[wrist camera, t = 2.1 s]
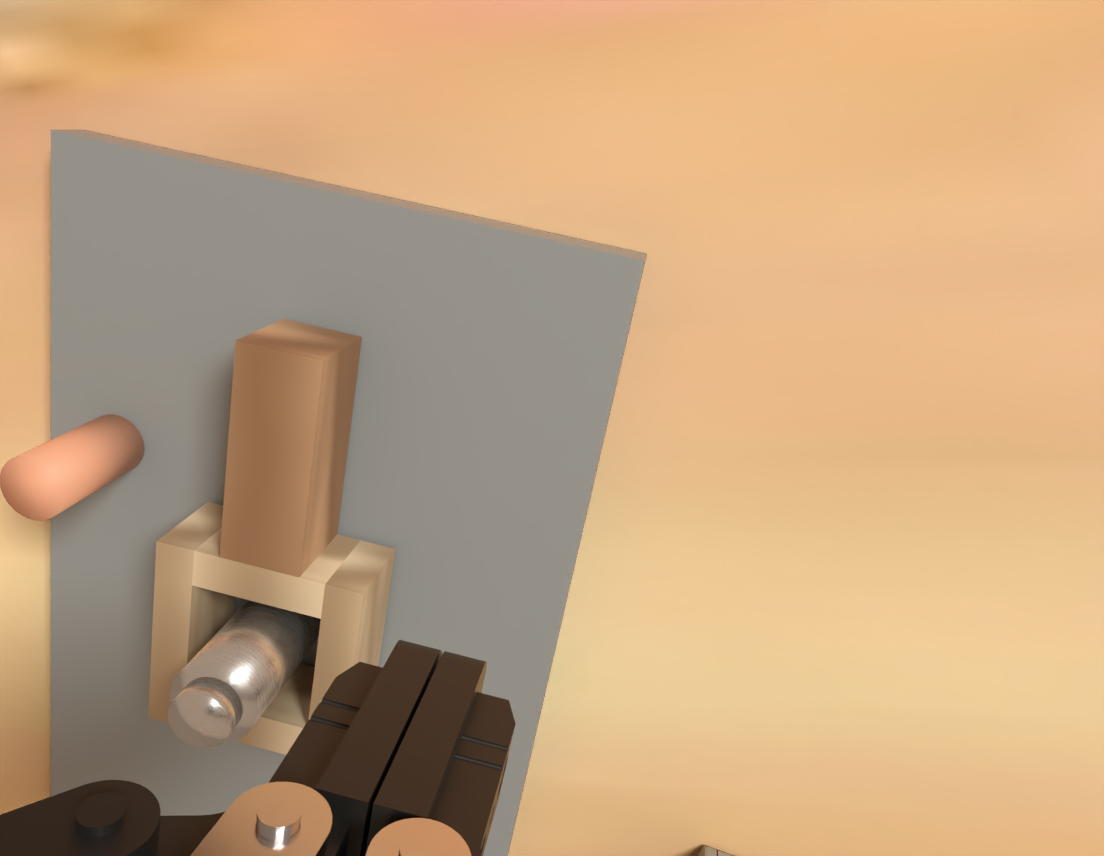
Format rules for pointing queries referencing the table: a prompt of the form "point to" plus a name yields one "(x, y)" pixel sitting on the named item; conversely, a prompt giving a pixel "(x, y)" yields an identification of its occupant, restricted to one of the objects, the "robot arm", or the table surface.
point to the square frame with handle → (277, 528)
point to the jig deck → (375, 437)
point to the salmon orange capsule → (71, 466)
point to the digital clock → (711, 852)
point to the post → (238, 674)
